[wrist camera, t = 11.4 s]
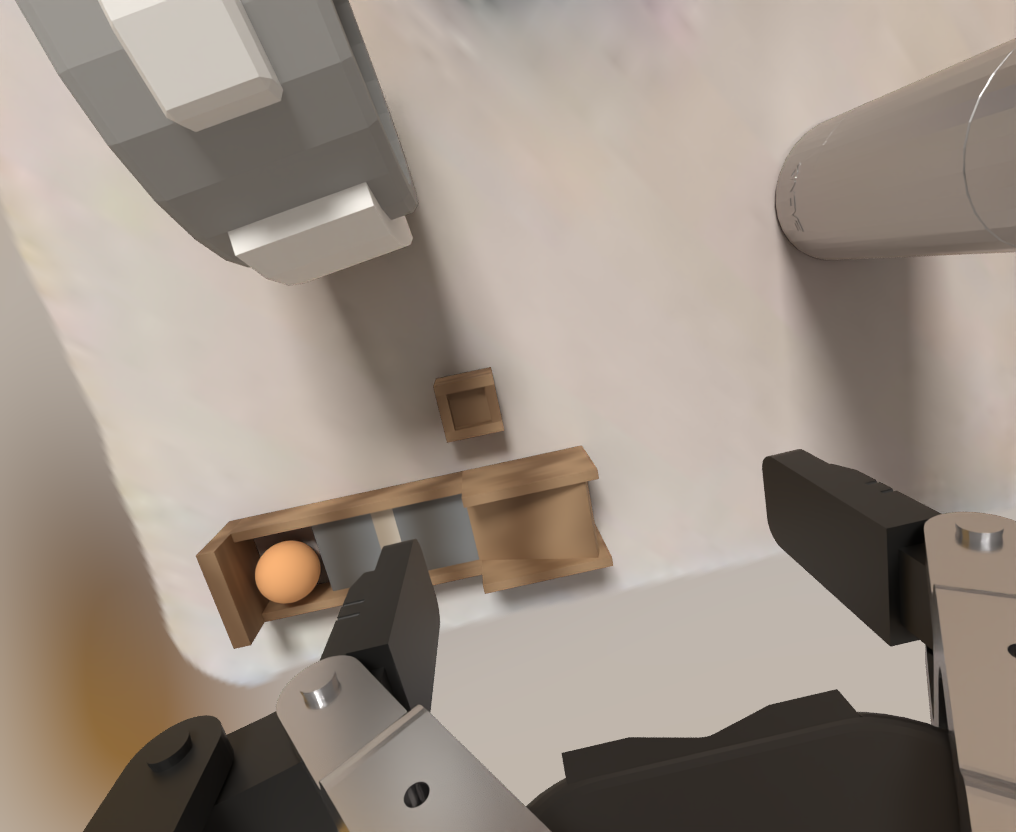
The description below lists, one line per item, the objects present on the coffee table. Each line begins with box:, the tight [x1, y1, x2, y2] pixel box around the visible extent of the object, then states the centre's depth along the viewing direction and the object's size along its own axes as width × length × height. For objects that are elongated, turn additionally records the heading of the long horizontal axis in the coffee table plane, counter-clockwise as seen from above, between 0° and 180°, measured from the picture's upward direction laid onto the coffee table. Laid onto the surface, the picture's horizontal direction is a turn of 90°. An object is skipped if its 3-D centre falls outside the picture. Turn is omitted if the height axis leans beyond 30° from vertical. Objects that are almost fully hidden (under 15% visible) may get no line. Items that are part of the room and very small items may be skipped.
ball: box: [255, 540, 321, 604], centre depth 38 cm, size 4×4×4 cm
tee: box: [433, 367, 504, 443], centre depth 37 cm, size 4×4×3 cm
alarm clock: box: [15, 0, 418, 285], centre depth 23 cm, size 18×8×20 cm, turn 19°
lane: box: [196, 446, 613, 649], centre depth 38 cm, size 27×7×5 cm, turn 101°
